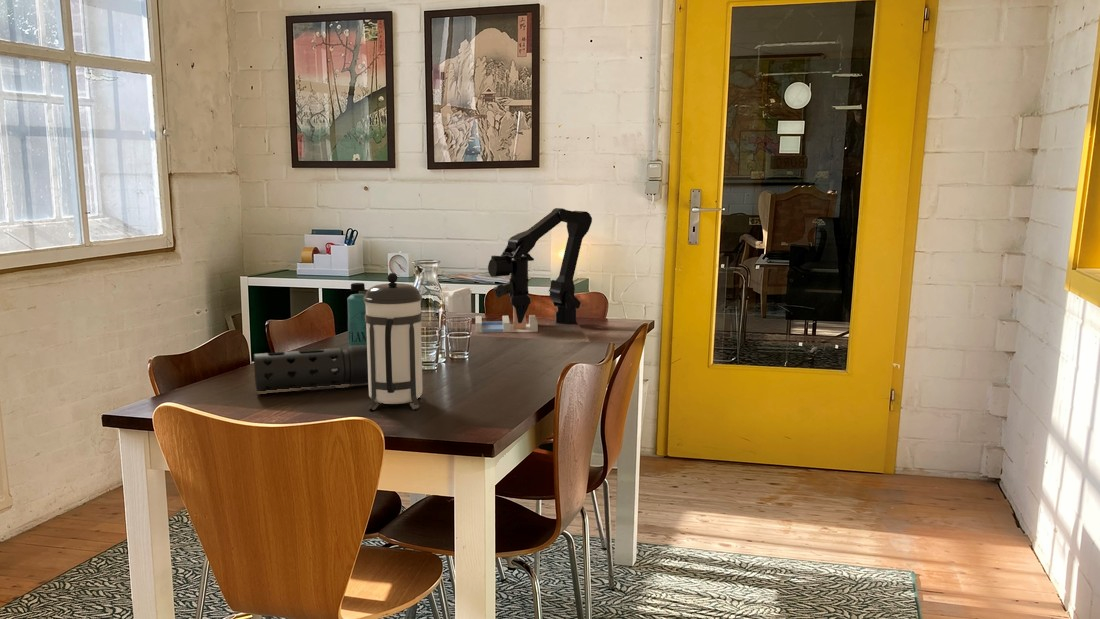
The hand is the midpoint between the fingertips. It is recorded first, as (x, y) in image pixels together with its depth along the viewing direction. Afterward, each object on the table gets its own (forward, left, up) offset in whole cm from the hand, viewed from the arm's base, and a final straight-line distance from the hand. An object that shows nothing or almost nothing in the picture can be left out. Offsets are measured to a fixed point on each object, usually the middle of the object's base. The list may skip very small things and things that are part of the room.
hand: (519, 321), depth 283 cm
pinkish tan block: (0, 0, -2) cm, 2 cm away
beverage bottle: (+49, +27, -3) cm, 56 cm away
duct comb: (+5, 0, -3) cm, 5 cm away
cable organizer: (+24, -21, -3) cm, 32 cm away
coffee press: (+32, +89, -3) cm, 95 cm away
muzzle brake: (+53, +73, -3) cm, 90 cm away
